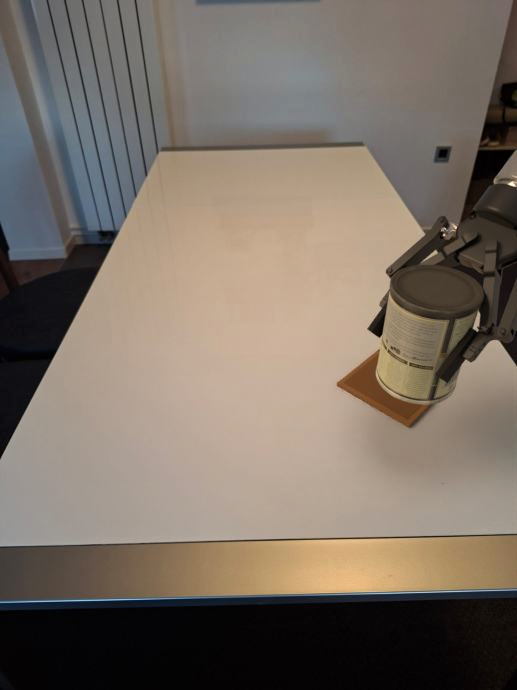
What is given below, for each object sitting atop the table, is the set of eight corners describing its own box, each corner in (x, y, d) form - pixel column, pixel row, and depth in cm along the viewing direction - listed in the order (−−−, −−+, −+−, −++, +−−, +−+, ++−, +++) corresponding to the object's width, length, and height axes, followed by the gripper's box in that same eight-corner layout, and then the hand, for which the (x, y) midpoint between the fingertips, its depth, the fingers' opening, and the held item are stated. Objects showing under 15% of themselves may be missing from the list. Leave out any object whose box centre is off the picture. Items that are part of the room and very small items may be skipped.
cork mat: (452, 383, 84) (453, 380, 84) (408, 427, 77) (409, 425, 76) (382, 348, 92) (383, 345, 92) (336, 385, 84) (336, 382, 84)
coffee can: (384, 345, 70) (400, 257, 62) (460, 364, 67) (488, 273, 58) (365, 391, 63) (380, 299, 54) (449, 415, 60) (479, 320, 51)
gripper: (623, 250, 53) (494, 415, 56) (449, 188, 68) (353, 321, 71) (620, 216, 48) (477, 401, 50) (431, 156, 62) (328, 303, 65)
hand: (405, 355), depth 60 cm, fingers closed on coffee can, 10 cm apart
